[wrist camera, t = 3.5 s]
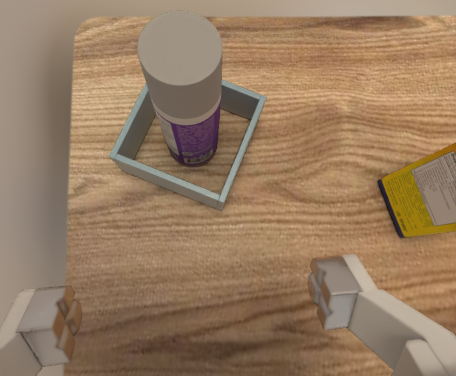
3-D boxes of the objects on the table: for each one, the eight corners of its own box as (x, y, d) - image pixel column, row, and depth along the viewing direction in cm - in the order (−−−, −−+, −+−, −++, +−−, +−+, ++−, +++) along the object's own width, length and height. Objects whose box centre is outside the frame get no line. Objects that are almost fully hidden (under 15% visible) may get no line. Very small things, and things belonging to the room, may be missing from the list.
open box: (122, 170, 31) (108, 156, 27) (166, 81, 33) (159, 54, 29) (221, 210, 31) (223, 202, 26) (258, 118, 33) (266, 96, 28)
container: (223, 129, 32) (236, 23, 18) (208, 173, 31) (208, 99, 17) (178, 115, 32) (153, -4, 18) (161, 158, 31) (120, 70, 17)
